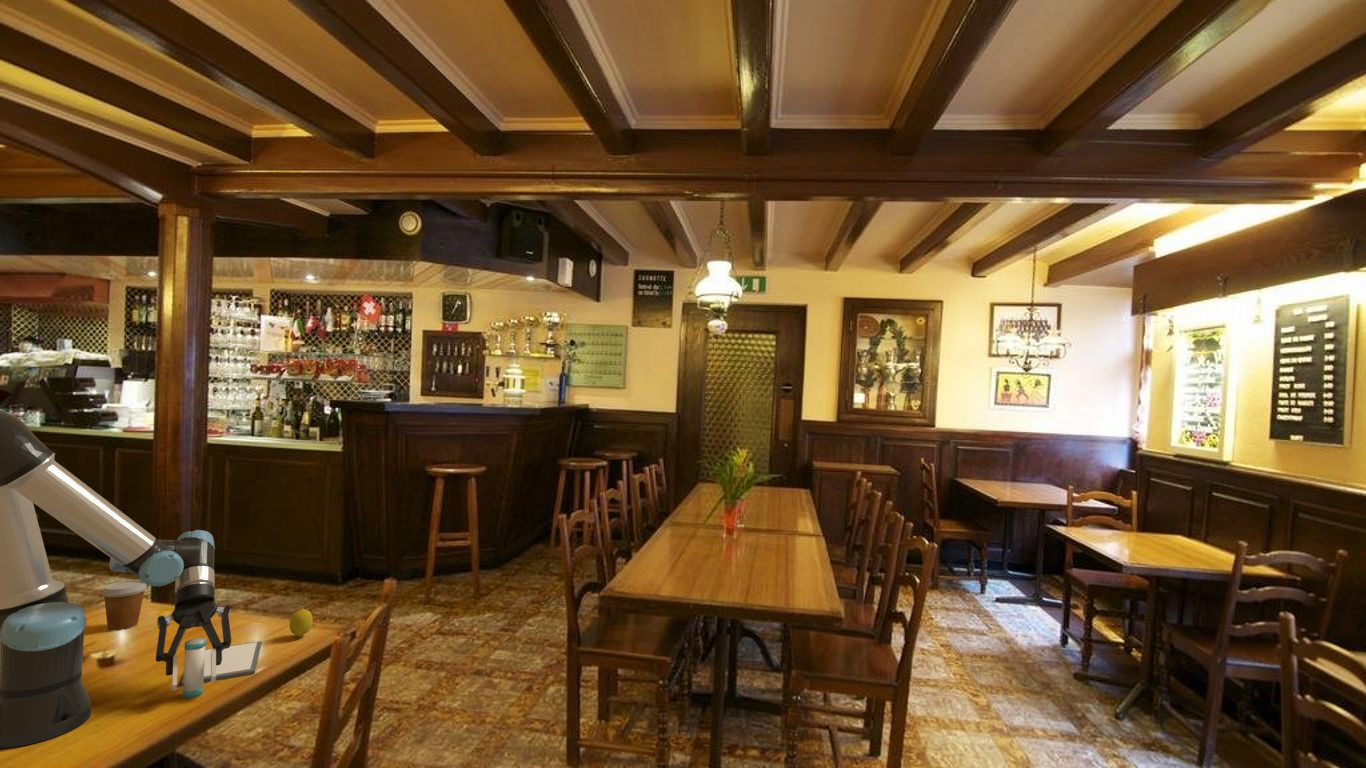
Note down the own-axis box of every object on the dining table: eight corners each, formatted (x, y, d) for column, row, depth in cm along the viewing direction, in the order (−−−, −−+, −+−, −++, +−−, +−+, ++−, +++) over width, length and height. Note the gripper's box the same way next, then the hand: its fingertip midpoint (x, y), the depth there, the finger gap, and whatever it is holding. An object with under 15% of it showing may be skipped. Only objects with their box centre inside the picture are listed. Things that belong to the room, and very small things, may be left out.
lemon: (314, 637, 170) (316, 608, 170) (292, 642, 166) (293, 613, 166) (308, 631, 174) (310, 603, 174) (286, 636, 170) (287, 608, 170)
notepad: (181, 686, 140) (181, 681, 140) (196, 653, 157) (196, 649, 157) (254, 673, 147) (254, 669, 147) (261, 644, 165) (261, 640, 165)
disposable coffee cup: (150, 625, 175) (152, 583, 175) (105, 635, 167) (108, 592, 167) (138, 618, 180) (140, 577, 180) (94, 627, 172) (97, 585, 172)
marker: (180, 700, 134) (183, 645, 134) (183, 692, 137) (186, 639, 138) (201, 696, 136) (204, 642, 136) (204, 689, 139) (207, 636, 140)
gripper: (241, 591, 155) (245, 679, 142) (142, 605, 142) (136, 703, 130) (244, 575, 151) (248, 664, 138) (143, 589, 139) (136, 688, 126)
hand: (194, 683), depth 134 cm, fingers open, 6 cm apart
